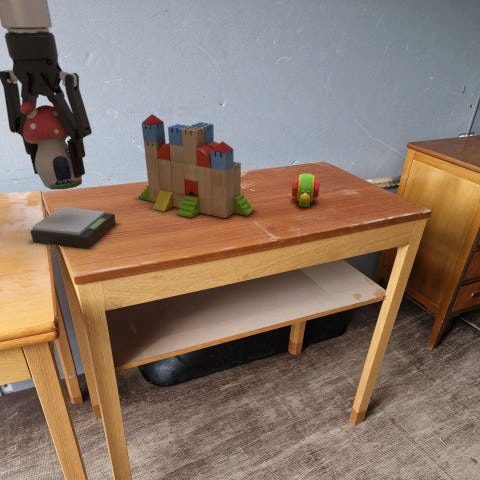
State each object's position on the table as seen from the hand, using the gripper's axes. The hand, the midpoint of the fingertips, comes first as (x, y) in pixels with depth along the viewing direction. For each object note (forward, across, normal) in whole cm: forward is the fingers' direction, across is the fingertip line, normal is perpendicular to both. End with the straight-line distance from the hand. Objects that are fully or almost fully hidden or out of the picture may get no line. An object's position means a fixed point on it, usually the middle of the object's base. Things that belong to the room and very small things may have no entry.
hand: (60, 173), depth 84 cm
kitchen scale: (+12, -1, 0) cm, 12 cm away
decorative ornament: (+2, 0, 0) cm, 2 cm away
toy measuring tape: (+12, -45, -34) cm, 58 cm away
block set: (+12, -20, -21) cm, 31 cm away
